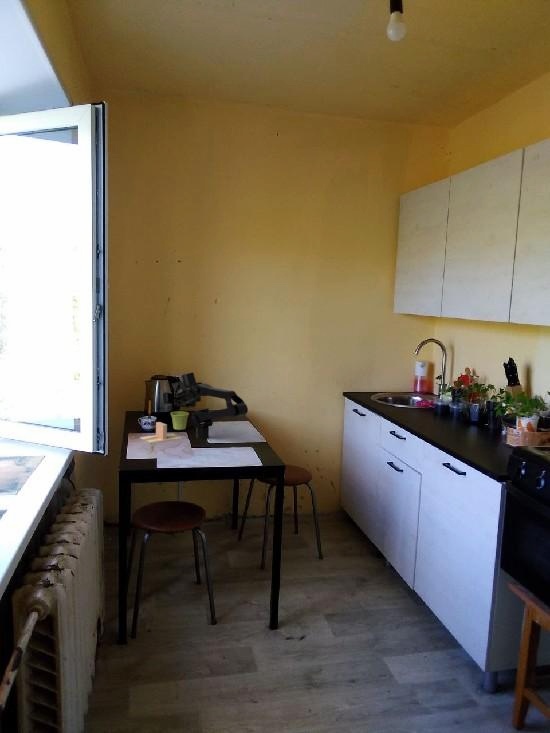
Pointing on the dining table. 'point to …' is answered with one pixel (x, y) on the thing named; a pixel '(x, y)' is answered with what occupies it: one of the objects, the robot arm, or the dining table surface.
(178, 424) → the plant pot
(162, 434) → the tile
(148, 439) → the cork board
